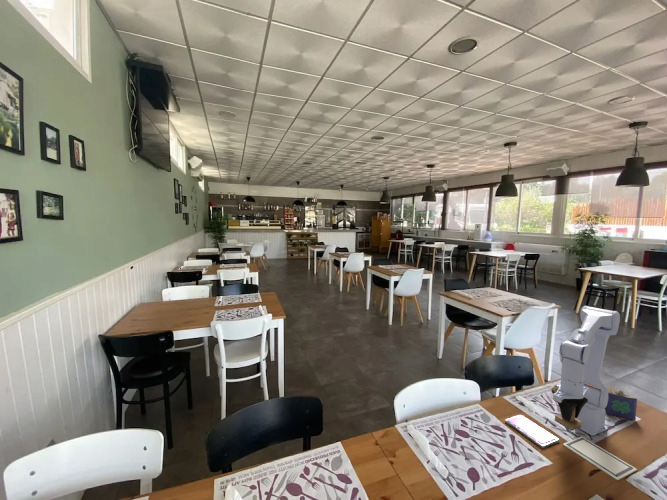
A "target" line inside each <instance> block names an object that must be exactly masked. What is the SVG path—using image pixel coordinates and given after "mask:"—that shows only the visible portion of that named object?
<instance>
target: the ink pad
mask: <svg viewBox="0 0 667 500" xmlns="http://www.w3.org/2000/svg"><path fill="white" fill-rule="evenodd" d="M504 422H505V424H506V425H508V426H510V427H512V428H513V429H514V430H516V431H517V432H518V433H520V434H521V435H523V436H524V437H526V438H527V439H528V440H530V442H532V443H534V444H536V445H537V446H538V447H539V448H541V449H545V448H547V447H551V446H552V445H555V444H558V443H560V438H558V437H557V436H555V435H553V434H552V433H551V432H549V431H547V430H546V429H544V428H543V427H541V426H539V425H538V424H536V423H535V422H534V421H532V420H530V419H529V418H527V417H525V415H522V414H518V415H514V416H512V417H510V418H509V417H508V418H505V419H504Z"/></svg>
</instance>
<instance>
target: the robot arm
mask: <svg viewBox="0 0 667 500" xmlns="http://www.w3.org/2000/svg"><path fill="white" fill-rule="evenodd" d="M579 314H580V315H579V316H580V317H579V318H580V320H581V323H582V324H581V325H580V328H575V329H574V330H573V332H572V333H571V335H570V336H569V338H568V339H567V340H565V341H564V340H563V341H561V343H560V345H559V349H558V350H559V351H558V353H559V357H560V359H559V360H560V363H561V369H560V370H561V372H560V383H559V384H556V385H557V388H559V389H558V390H557V392H556V393H553V394H552V395H553V397H552V399H553V400H554V401H555V402H556V403H557V404H558V407H559V411H560V414H561V415H562V418H564V419H566V420H568V421H570V419H571V416H572V412H573V409H574V408H575V407H576V409H575V418H576V419H578V420H579V421H581V422H582V426H581V428H578V429H579V430H581V431H583V432H585V433H586V434H588V435H590V436H595V435H597V434H600V433H602V432H605V431H607V430H608V427H606V426H605V424H606V415H607V414H606V411H605V408H606V406H607V403H608V392H609V390H610V389H609V388H608V386H607V385H606V384H605V383H604V382H603V381H602V380H601V375H602V369H603V365H604V360H605V355H606V349H607V345H608V340H609V338H610V336H616V335H617V333H619V332H618V331H619V327H620V323H621V314H620V313H619V312H618V311H617V310H610V309H605V308H604V309H603V308H598V307H592V306H588V305H584V306H582V307H581V310H580V313H579Z"/></svg>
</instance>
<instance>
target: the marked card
mask: <svg viewBox="0 0 667 500" xmlns="http://www.w3.org/2000/svg"><path fill="white" fill-rule="evenodd" d="M562 445H563V446H564V447H565V448H567V449H568V450H570V451H571V452H573V453H574V454H576V455H577V456H579V457H580V458H582V459H584V460H585V461H587V462H589V463H590V464H592V465H594V466H595V468H598V469H599V470H600V471H602V472H604V473H605V474H606V475H609V476H610V477H611V478H613V479H615V480H616V481H620V480H621V479H624V478H625V477H627V476H630V475H631V474H632V473H633V474H634V473H635V472H636V471H638V468H636V467H635V466H633V465H631V464H629V463H628V462H626V461H624V460H622V459H621V458H620V457H618V456H616V455H614V454H613V453H611V452H609V451H607V450H605V449H604V448H602V447H600V446H599V445H597V444H596V443H594V442H592V441H591V440H589V439H587V438H585V437H584V436H579V437H576V438H574V439H572V440H568V441H567V442H564V443H563V444H562Z"/></svg>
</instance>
